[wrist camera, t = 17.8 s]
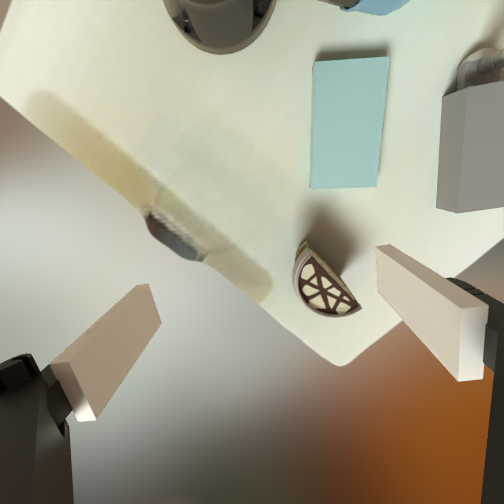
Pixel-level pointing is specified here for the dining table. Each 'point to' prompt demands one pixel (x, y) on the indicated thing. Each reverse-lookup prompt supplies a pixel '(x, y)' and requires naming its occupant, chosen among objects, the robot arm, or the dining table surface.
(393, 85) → the dining table surface
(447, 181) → the case
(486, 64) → the key
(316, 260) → the food container
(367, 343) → the dining table surface
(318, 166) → the cover
